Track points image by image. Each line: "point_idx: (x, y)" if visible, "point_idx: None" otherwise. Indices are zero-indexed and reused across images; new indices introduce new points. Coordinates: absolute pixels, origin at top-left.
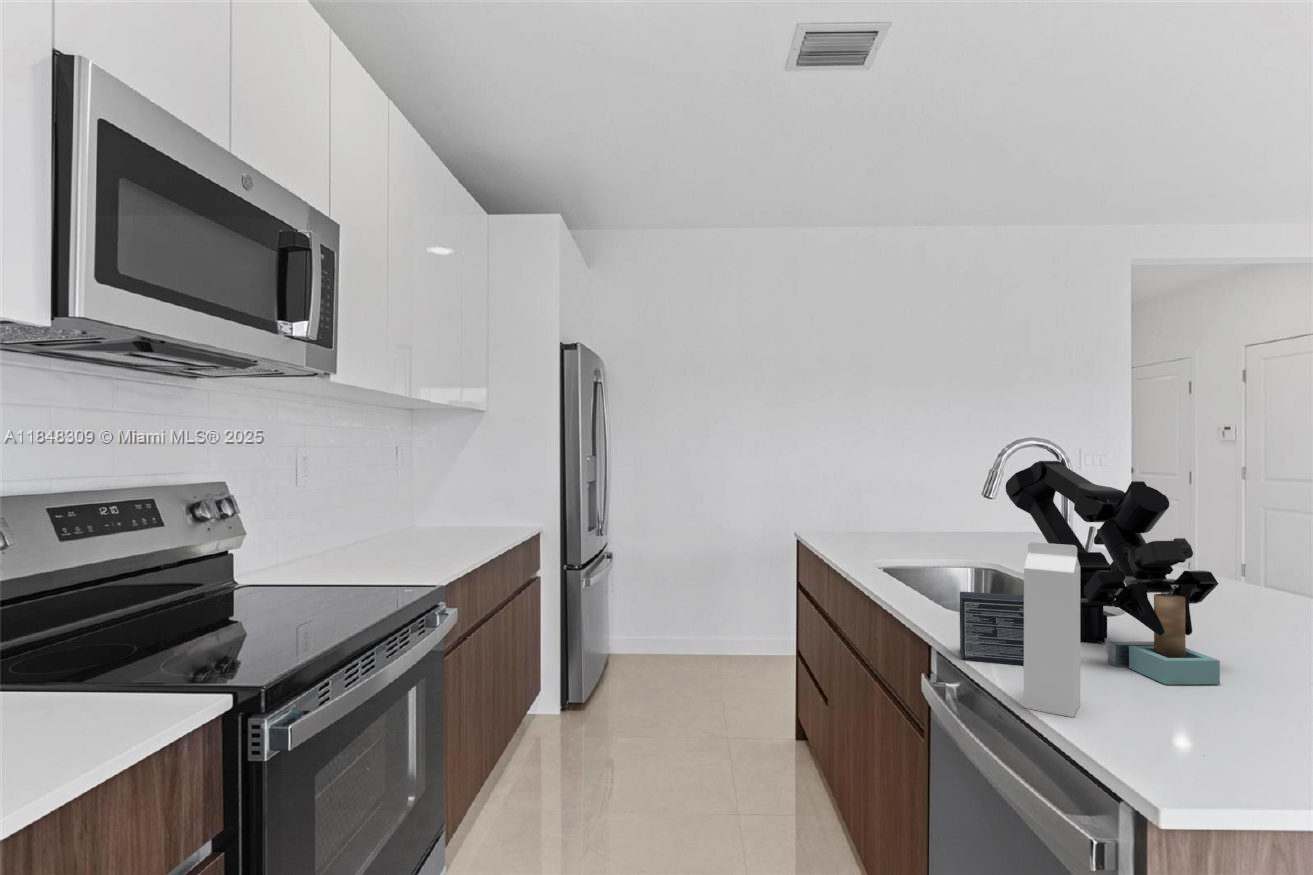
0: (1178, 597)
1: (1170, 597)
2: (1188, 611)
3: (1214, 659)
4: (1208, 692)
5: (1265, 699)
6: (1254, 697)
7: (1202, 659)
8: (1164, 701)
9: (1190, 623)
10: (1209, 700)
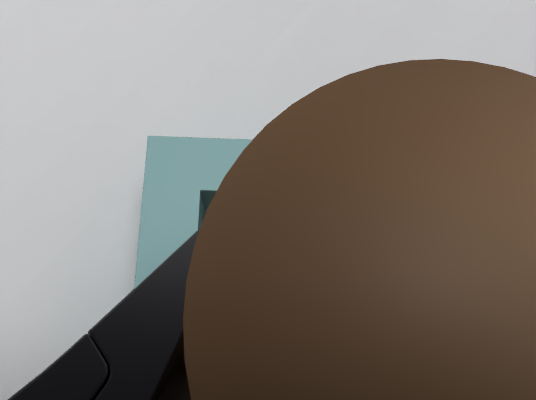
0: (356, 193)
1: (527, 190)
2: (107, 331)
3: (159, 158)
4: (291, 102)
5: (130, 19)
6: (152, 40)
7: (233, 158)
8: (531, 23)
9: (175, 259)
10: (358, 22)
